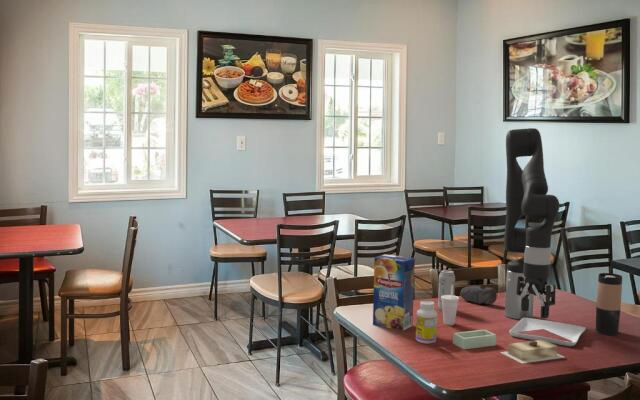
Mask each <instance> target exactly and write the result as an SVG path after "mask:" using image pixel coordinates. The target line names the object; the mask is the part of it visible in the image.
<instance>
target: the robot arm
mask: <svg viewBox="0 0 640 400" xmlns="http://www.w3.org/2000/svg"><path fill="white" fill-rule="evenodd" d="M505 152H506V153H505V154H506V185H505V186H506V187H505V209H506V210H505V211H506V212H505V213H506V215H505V227H504V238H503V240H504V243H503V244H504V249H505V250H506V251H507V252H509V253H517V254H519V253H520V254H523V256H522V257H520V258H518V259H514V260H510V261H508V262H507V265H506V281H505V302H504V303H505V304H504V315H505V317H508V318H511V319H515V320H521V319H522V318H533V316H534V303H535V302H534V298H535V297H536V298H537V299H538V300H539V302H540V304H541V306H540V319H542V320H545V319H548V318H549V316H550V306H555V305H556V285H555V284H548V279H550V277H551V262H552V260H551V259H552V252H551V251H552V249H551V245H552V231H553V229H554V224H555V222H556V219H557V216H558V214H559V210H560V201H559V199H558V198H557V196H555V195H554V194H548V192H549V185H548V181H547V177H546V173H545V167H544V166H545V165H544V163H545V162H544V161H545V160H544V150H543V141H542V135H541V132H540V131H539V129H538V128H532V127H530V128H529V127H528V128H516V129H510V130H509V131H507V133H506V137H505ZM522 157H531V158H530V160H529V161H528V162H527V163H526V165H525V166H524V168H523V169H522V167H521V166H520V165H519V161H518V160H517V158H522ZM523 216H525V217H526V218H529V219H543V221H542V222H541V223H540V224H536V225H530V226H528V227H516V225H517V223H519V221H520V219H521V218H523Z"/></svg>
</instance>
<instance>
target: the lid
mask: <svg viewBox="0 0 640 400" xmlns="http://www.w3.org/2000/svg"><path fill="white" fill-rule="evenodd" d="M507 351H508V354H510V355H512V356H514V357H516V358H518V359H520V360H521V361H524V360H531V359H538V358H545V357H552V356H557V354H558V345H557V344H554V343H549V342H547V341H545V340H529V341H523V342H514V343H509V344H508V347H507Z"/></svg>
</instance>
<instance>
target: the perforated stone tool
mask: <svg viewBox="0 0 640 400" xmlns="http://www.w3.org/2000/svg"><path fill="white" fill-rule="evenodd" d="M497 293H498V291H497V290H496V288H493V287H487V286H486V287H485V286H482V285H481V286H479V285H478V286H477V285H470V286H465V287H463V288H462V289H461V291H460V293H459V294H460V297H461V298H462V299H463V300H464V301H466V302H471V303H473V304H477V303H478V304H477V305H482V304H485V305H487V306H489V305H492V304H494V303H496V300H497V298H498V294H497Z"/></svg>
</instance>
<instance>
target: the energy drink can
mask: <svg viewBox="0 0 640 400" xmlns="http://www.w3.org/2000/svg"><path fill="white" fill-rule="evenodd" d="M455 284H456V275H455V272H454V270H449V269H448V270H447V269H444V270H440V273H439V275H438V296H437V297H438V299H437V308H438V310H439V311H441V312H443V308H442V300H441V296H443V295H451V285H453V295H454V296H455V290H456V289H455V288H456V285H455Z"/></svg>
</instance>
